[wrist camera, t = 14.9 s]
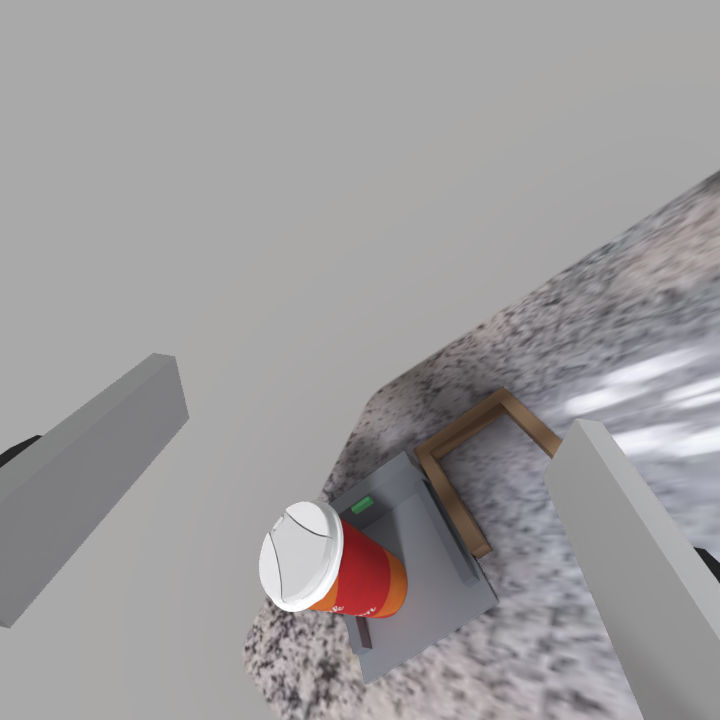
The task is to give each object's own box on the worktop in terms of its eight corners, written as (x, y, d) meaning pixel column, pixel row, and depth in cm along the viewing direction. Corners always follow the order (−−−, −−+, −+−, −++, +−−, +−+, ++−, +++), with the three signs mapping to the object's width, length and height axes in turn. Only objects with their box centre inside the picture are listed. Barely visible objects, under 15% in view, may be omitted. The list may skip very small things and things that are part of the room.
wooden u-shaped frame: (421, 458, 44) (413, 449, 42) (508, 396, 42) (502, 386, 41) (478, 558, 33) (470, 552, 32) (598, 482, 31) (594, 471, 30)
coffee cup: (339, 588, 38) (242, 555, 29) (382, 526, 40) (302, 477, 31) (385, 657, 32) (278, 641, 23) (434, 579, 33) (352, 537, 25)
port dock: (334, 535, 44) (304, 520, 40) (426, 471, 42) (404, 450, 39) (368, 684, 32) (330, 681, 28) (499, 602, 30) (476, 589, 26)
